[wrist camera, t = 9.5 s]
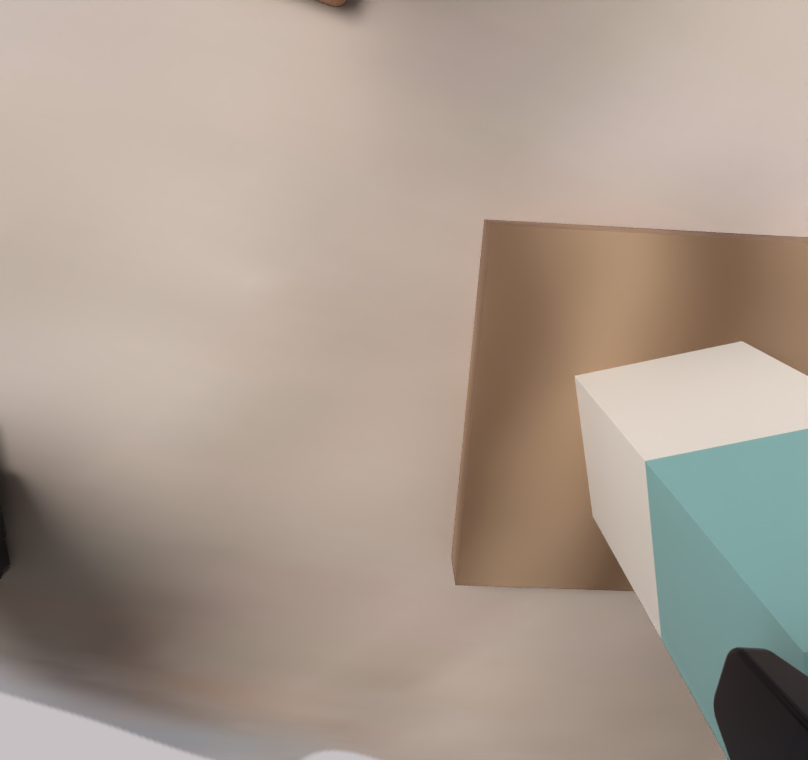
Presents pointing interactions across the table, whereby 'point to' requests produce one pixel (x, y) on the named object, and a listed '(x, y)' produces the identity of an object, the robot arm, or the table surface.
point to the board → (589, 352)
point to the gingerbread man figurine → (333, 2)
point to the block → (705, 501)
